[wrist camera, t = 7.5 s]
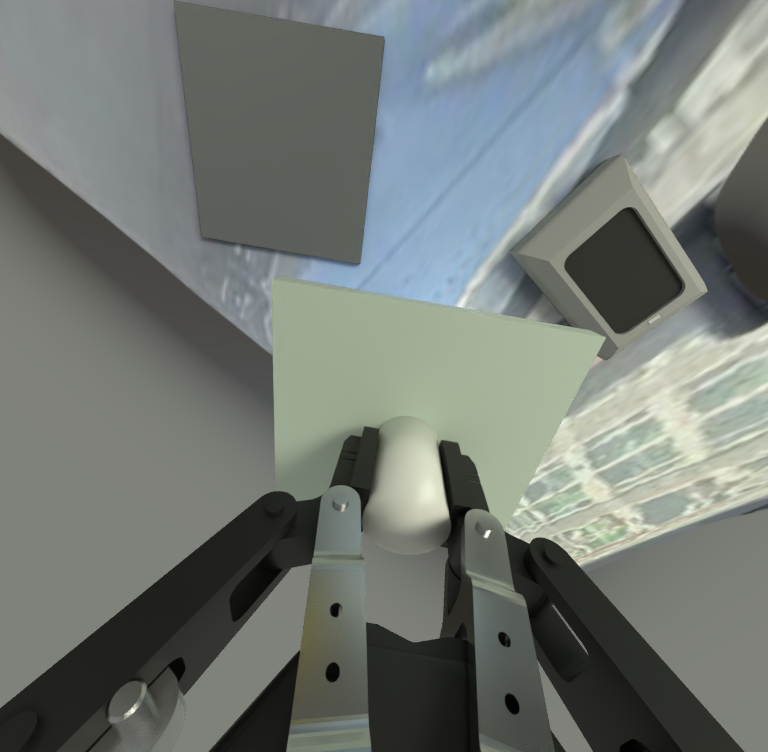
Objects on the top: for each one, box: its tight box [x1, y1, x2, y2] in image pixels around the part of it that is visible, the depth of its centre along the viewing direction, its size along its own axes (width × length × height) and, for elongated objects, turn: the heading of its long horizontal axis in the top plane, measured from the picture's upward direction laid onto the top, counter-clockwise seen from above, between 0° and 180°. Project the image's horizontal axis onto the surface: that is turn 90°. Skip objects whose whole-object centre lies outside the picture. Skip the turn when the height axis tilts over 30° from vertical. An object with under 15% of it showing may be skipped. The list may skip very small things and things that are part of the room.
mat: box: [174, 1, 385, 264], centre depth 25 cm, size 16×16×1 cm
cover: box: [271, 276, 606, 555], centre depth 12 cm, size 13×13×6 cm
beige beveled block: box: [509, 154, 708, 360], centre depth 26 cm, size 10×4×15 cm
